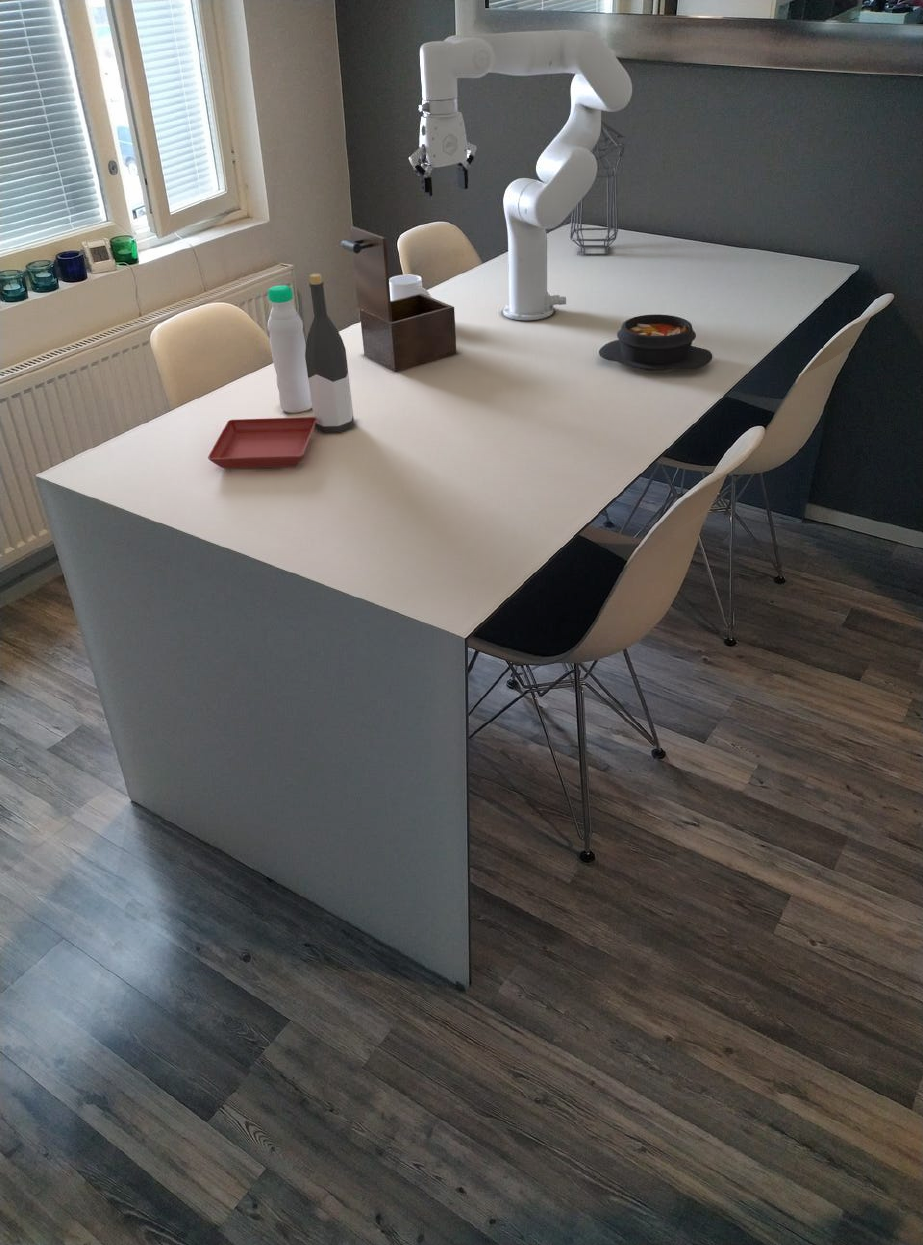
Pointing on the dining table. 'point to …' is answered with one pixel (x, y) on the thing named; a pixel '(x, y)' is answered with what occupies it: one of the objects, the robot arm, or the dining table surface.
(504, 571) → the dining table surface
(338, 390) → the wine bottle
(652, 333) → the casserole
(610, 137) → the geometric lantern
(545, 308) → the robot arm
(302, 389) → the water bottle
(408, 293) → the mug
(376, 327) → the chest
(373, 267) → the lid
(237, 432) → the plant saucer
